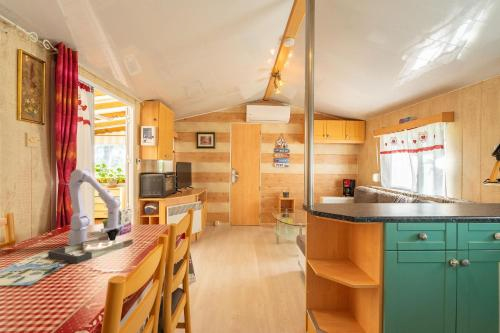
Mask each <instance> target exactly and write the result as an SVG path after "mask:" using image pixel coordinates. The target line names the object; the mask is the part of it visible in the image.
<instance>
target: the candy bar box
mask: <svg viewBox="0 0 500 333" xmlns="http://www.w3.org/2000/svg"><path fill="white" fill-rule="evenodd" d="M120 224H123V225H124V228H119V229H117V230H119V232H118V234H117V236H123V235H125V234H128V233H130V232H131V231H132V208H122V209H119V214H118V225H120Z"/></svg>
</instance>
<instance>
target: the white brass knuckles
mask: <svg viewBox="0 0 500 333" xmlns="http://www.w3.org/2000/svg"><path fill="white" fill-rule="evenodd" d="M118 243H120V242H119V240H115V241H110V240H105V241H94V242H85V243H83V248H82V250H83V251H84V253H85V254H87V253H90V252H93V251H96V250H99V249H102V248H105V247H108V246H112V245H115V244H118Z"/></svg>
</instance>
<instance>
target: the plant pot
mask: <svg viewBox="0 0 500 333" xmlns="http://www.w3.org/2000/svg"><path fill="white" fill-rule="evenodd" d="M107 220H108V218H104V219H102V224H103V228H106V227H107ZM104 234H107V233H106V232H105V233H104Z"/></svg>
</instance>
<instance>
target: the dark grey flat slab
mask: <svg viewBox="0 0 500 333" xmlns="http://www.w3.org/2000/svg"><path fill="white" fill-rule="evenodd" d="M65 247H66V246H63V247H60V248H56V249H52V250H48V251H47V258H49V257H50V259H53V258H54V260H58V259H59V260H58V261H62V260H65V261H64V262H67V261H69V262H68V263H71V262H72V264H80V263H83V262H86V261H89V260H92V259H93V258H92V253H91V252H87V253H84V254H81V255H77V256H74V255H75V254H72V255H70V254H71V253H68V252H67V253H65Z"/></svg>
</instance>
